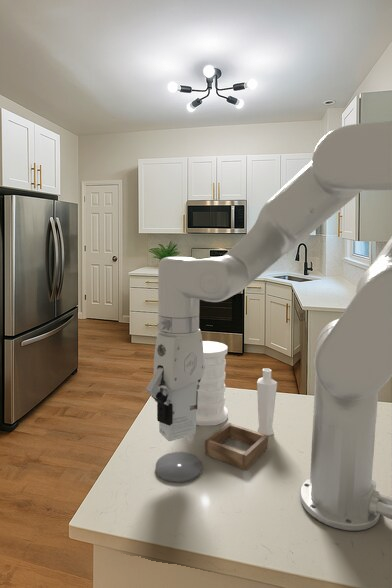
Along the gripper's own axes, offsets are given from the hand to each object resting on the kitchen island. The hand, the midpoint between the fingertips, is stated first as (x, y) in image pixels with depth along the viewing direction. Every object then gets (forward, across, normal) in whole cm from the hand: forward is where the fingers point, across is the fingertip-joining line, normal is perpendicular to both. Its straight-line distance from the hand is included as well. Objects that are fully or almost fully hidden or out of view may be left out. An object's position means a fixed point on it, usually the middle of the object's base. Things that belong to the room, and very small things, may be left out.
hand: (177, 414), depth 72 cm
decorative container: (+11, +22, +9) cm, 26 cm away
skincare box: (+4, 0, 0) cm, 4 cm away
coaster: (+11, 0, 0) cm, 11 cm away
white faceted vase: (+11, +23, -7) cm, 27 cm away
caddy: (+11, +12, -6) cm, 17 cm away
